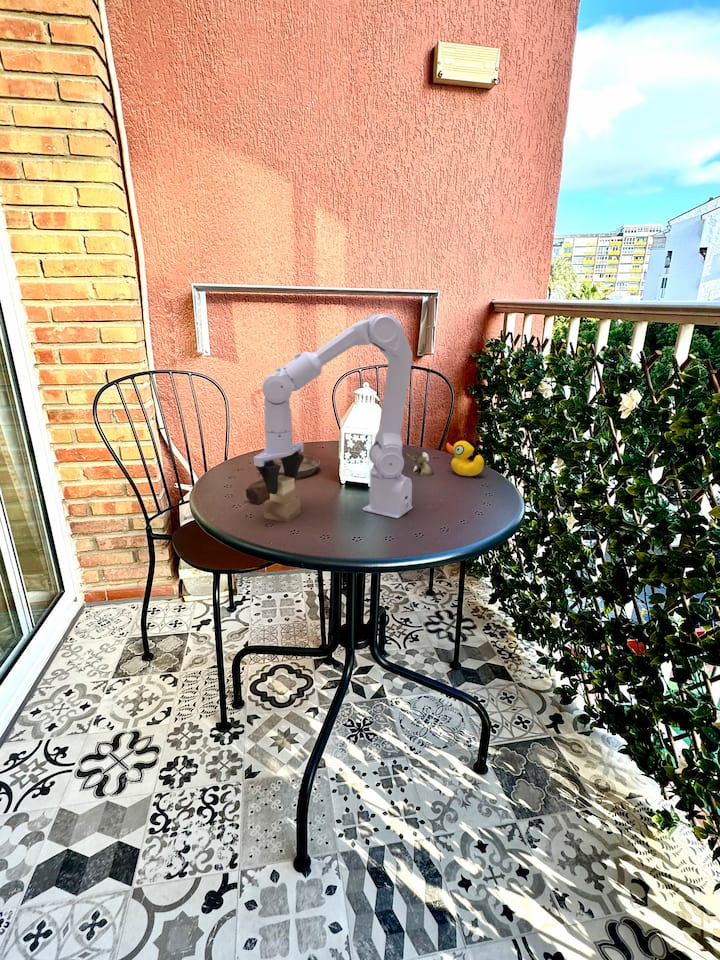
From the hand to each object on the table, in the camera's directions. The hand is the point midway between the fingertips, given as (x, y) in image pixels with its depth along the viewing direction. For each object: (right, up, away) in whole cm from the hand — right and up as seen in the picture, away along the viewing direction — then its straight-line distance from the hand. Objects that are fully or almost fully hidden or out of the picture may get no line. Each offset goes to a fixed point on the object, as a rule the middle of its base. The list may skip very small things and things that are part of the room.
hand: (281, 489), depth 111 cm
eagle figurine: (+36, +4, +34) cm, 49 cm away
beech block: (0, -2, +1) cm, 3 cm away
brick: (-6, -3, +13) cm, 15 cm away
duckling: (+48, +3, +31) cm, 57 cm away
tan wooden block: (0, -6, +2) cm, 7 cm away
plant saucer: (-3, +4, +34) cm, 34 cm away
